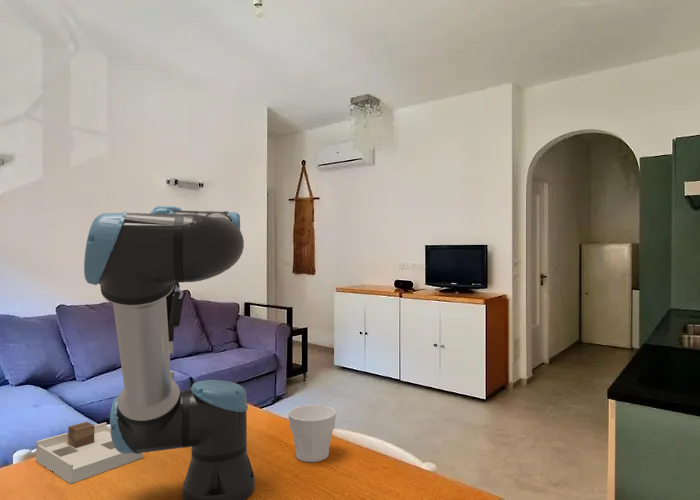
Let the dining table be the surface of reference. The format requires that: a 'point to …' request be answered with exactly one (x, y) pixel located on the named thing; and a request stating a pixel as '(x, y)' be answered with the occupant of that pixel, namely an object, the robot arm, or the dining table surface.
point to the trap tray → (82, 455)
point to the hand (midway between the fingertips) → (166, 353)
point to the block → (81, 434)
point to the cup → (312, 431)
